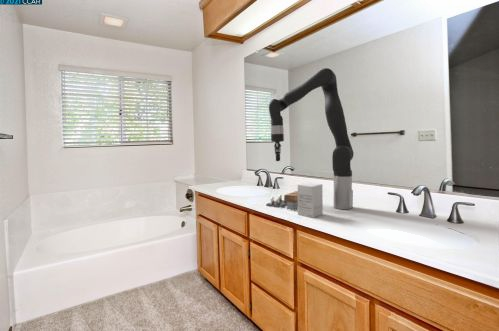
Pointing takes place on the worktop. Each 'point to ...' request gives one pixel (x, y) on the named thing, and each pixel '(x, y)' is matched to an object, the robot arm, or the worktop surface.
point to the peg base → (277, 202)
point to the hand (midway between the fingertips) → (278, 160)
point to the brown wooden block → (291, 197)
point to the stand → (292, 205)
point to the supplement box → (310, 199)
